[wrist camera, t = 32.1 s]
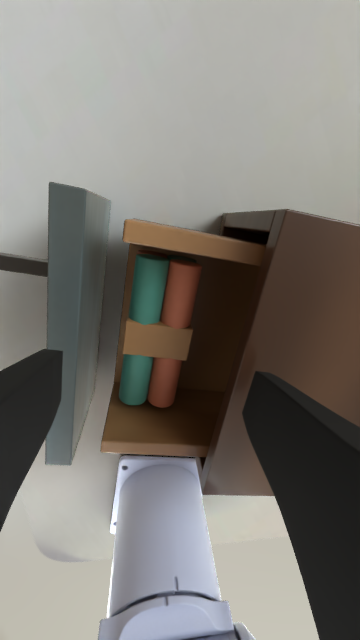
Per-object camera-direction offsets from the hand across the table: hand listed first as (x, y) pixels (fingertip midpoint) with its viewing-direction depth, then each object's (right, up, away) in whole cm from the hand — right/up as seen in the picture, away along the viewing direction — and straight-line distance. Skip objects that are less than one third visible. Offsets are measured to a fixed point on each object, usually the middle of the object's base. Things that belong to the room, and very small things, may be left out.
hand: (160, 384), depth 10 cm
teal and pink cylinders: (-1, +2, +6) cm, 7 cm away
